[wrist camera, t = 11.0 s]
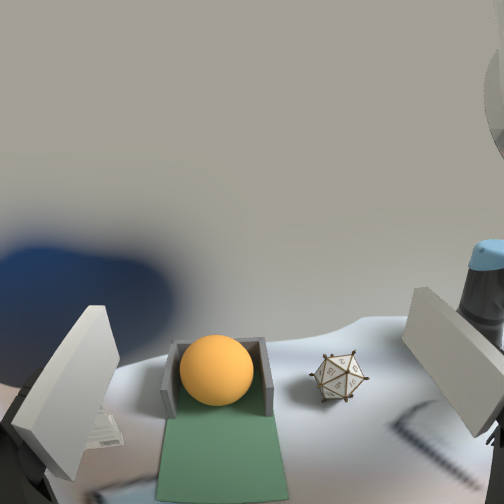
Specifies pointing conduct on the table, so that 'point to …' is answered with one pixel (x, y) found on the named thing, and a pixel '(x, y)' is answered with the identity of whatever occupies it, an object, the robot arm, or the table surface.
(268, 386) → the pitch
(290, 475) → the table surface
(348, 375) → the game die
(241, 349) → the ball
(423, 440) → the table surface
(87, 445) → the ink cartridge box
